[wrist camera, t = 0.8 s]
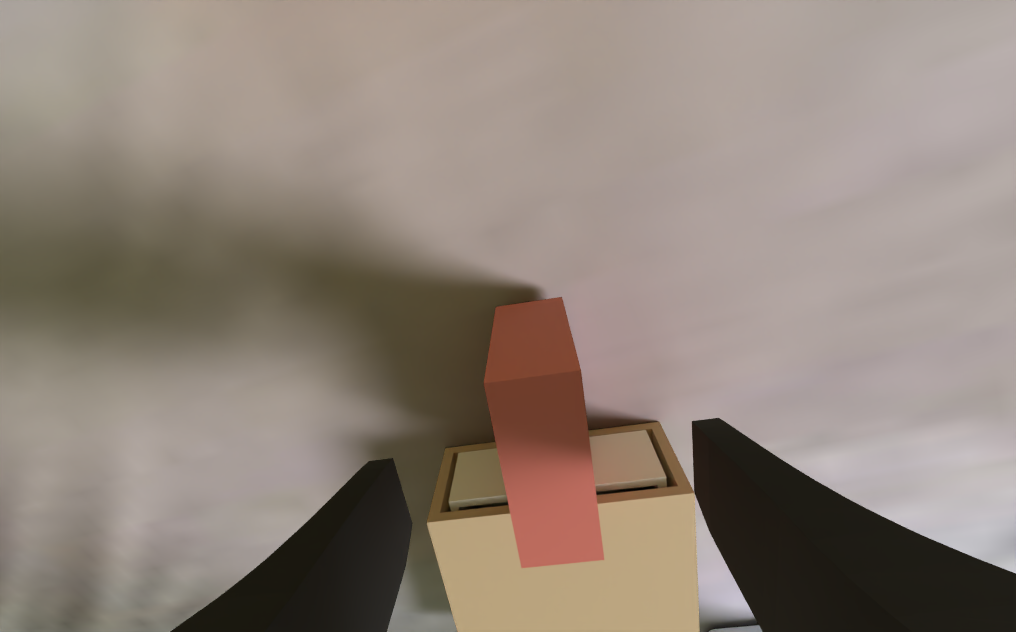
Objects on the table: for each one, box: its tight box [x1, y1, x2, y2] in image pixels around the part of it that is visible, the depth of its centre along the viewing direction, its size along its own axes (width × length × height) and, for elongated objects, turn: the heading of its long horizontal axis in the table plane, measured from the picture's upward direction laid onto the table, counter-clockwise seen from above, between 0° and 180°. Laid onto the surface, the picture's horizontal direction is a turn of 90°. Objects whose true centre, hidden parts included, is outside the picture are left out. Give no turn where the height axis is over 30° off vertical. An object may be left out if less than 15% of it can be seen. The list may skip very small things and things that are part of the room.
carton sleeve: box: [427, 422, 700, 632], centre depth 19 cm, size 10×9×4 cm
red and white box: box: [449, 297, 667, 568], centre depth 17 cm, size 15×8×6 cm, turn 9°
